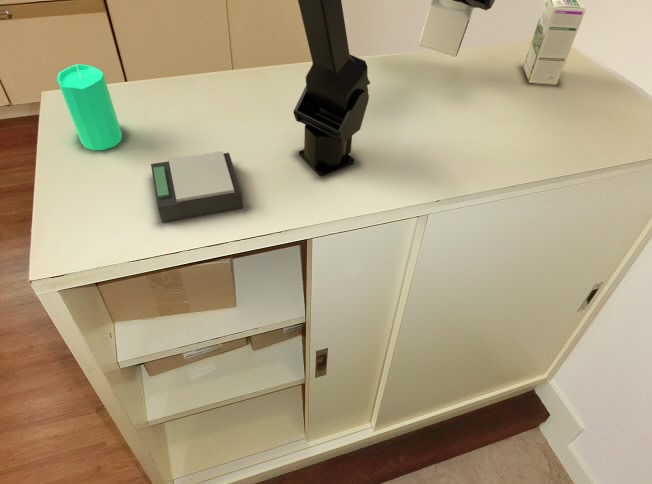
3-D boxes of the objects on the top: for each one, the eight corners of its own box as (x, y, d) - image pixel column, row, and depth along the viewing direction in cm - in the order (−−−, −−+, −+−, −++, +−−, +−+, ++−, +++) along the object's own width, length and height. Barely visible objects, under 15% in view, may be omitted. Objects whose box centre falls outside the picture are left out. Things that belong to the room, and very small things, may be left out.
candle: (78, 130, 82) (51, 57, 73) (119, 123, 84) (96, 51, 75) (83, 153, 79) (54, 80, 70) (125, 146, 81) (102, 73, 71)
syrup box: (557, 85, 101) (589, 7, 90) (527, 83, 101) (555, 5, 89) (550, 69, 104) (580, -7, 93) (521, 67, 104) (547, -9, 93)
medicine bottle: (456, 58, 94) (481, -12, 84) (417, 45, 94) (438, -26, 85) (461, 40, 98) (485, -28, 89) (425, 29, 99) (445, -40, 89)
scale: (161, 222, 71) (156, 203, 68) (154, 179, 76) (149, 160, 74) (243, 208, 74) (241, 190, 71) (230, 167, 79) (228, 148, 76)
